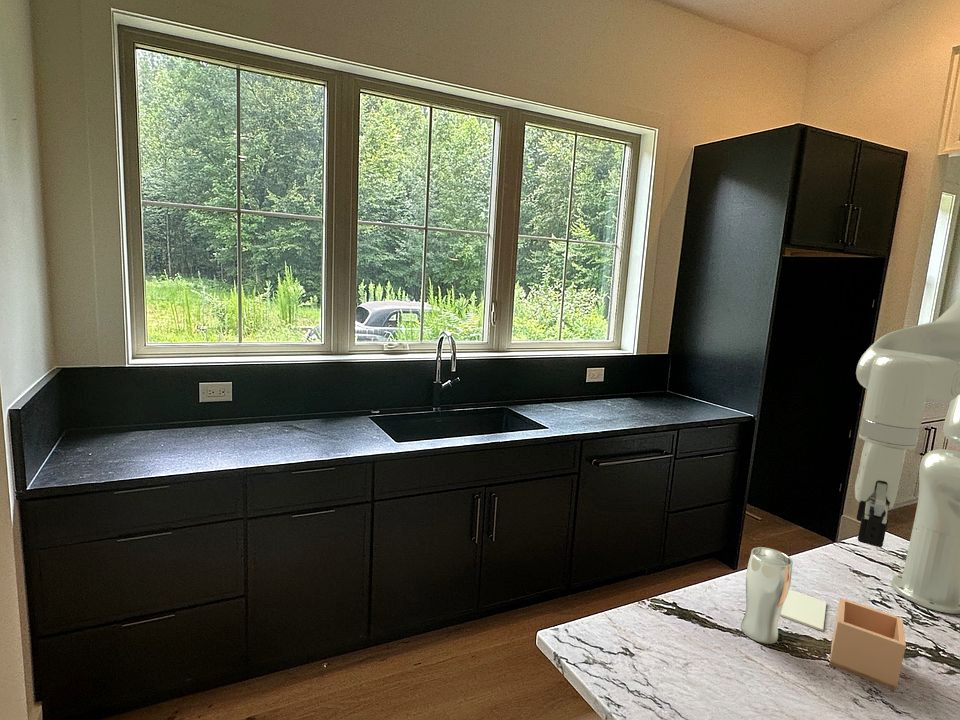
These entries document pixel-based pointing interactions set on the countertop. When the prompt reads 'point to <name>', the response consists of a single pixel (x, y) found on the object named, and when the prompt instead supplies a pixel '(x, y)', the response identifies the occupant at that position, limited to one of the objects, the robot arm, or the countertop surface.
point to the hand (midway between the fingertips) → (868, 532)
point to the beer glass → (766, 593)
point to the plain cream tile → (804, 610)
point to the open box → (868, 643)
